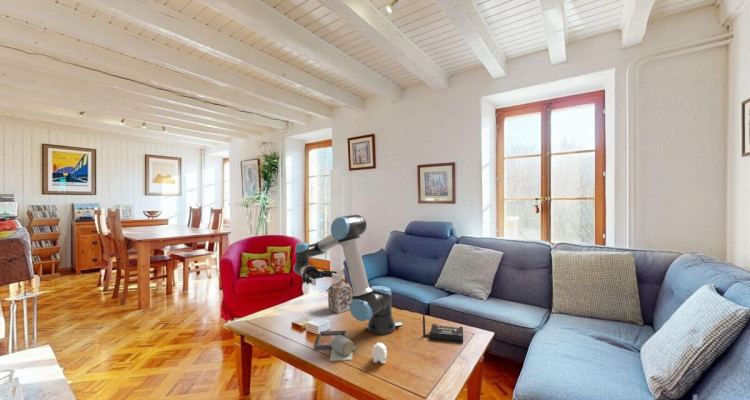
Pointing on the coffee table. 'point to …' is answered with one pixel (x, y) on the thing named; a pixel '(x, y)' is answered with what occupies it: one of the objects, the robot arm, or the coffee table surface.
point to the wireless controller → (444, 332)
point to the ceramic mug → (342, 345)
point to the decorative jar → (339, 297)
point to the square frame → (328, 334)
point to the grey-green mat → (340, 356)
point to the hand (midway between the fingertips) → (327, 280)
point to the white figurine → (379, 353)
